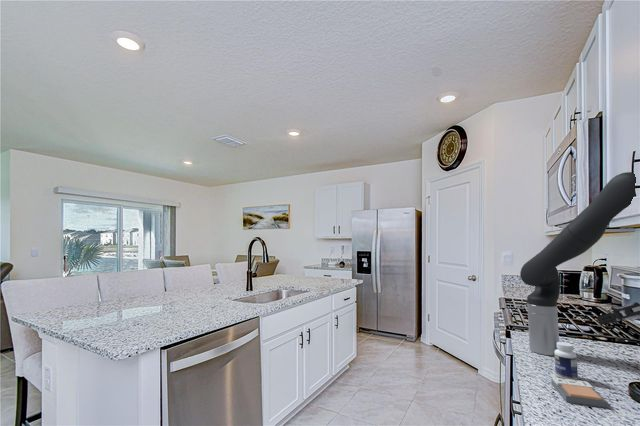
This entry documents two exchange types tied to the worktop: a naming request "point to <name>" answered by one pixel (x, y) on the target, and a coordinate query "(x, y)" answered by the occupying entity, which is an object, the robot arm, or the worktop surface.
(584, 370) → the worktop surface
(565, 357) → the pill bottle
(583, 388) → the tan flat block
